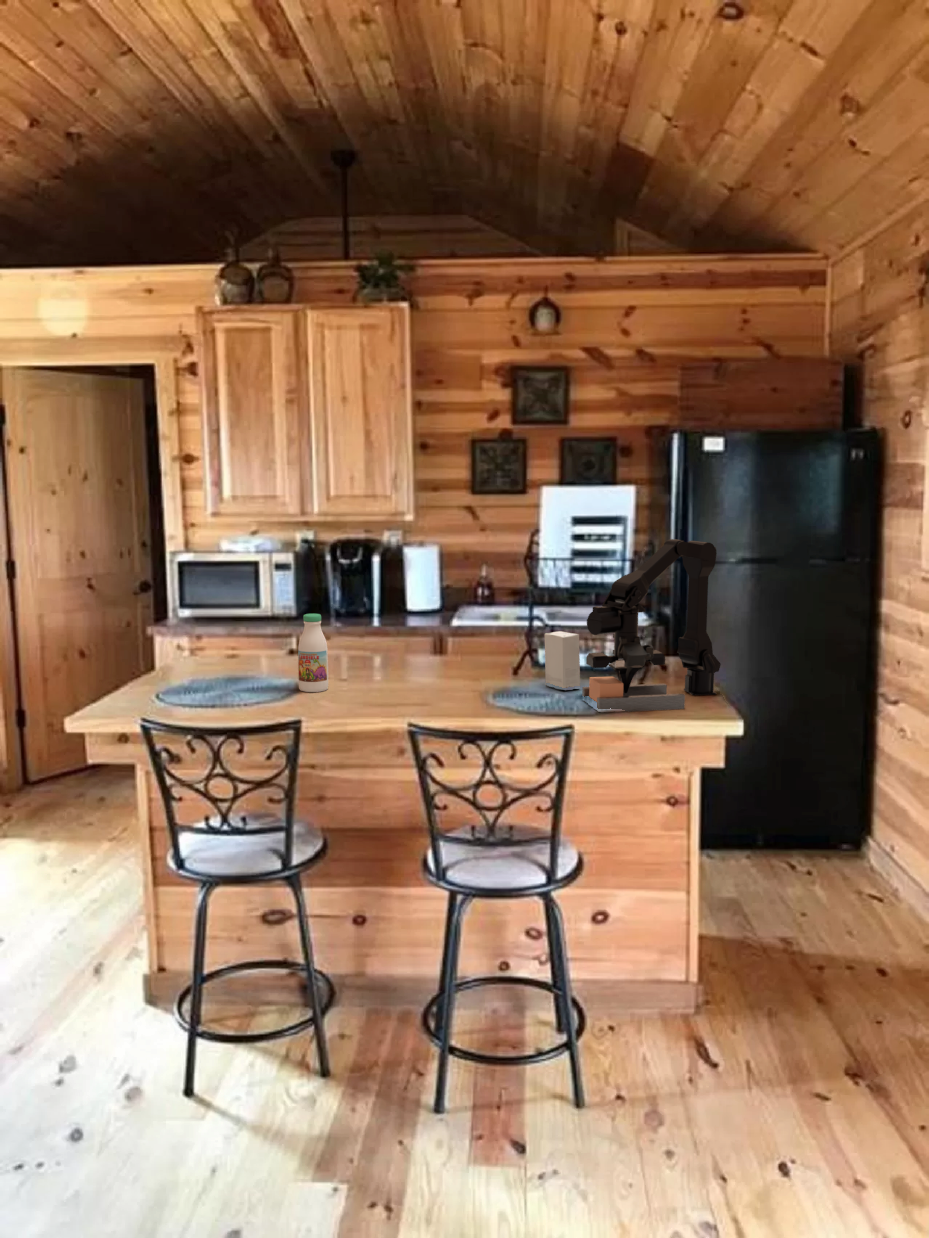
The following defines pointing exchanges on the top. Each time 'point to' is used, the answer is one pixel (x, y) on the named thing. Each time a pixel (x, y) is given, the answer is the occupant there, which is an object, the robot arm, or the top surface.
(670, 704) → the chute
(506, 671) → the top surface
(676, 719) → the top surface
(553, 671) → the skincare box
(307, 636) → the milk bottle
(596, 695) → the block
